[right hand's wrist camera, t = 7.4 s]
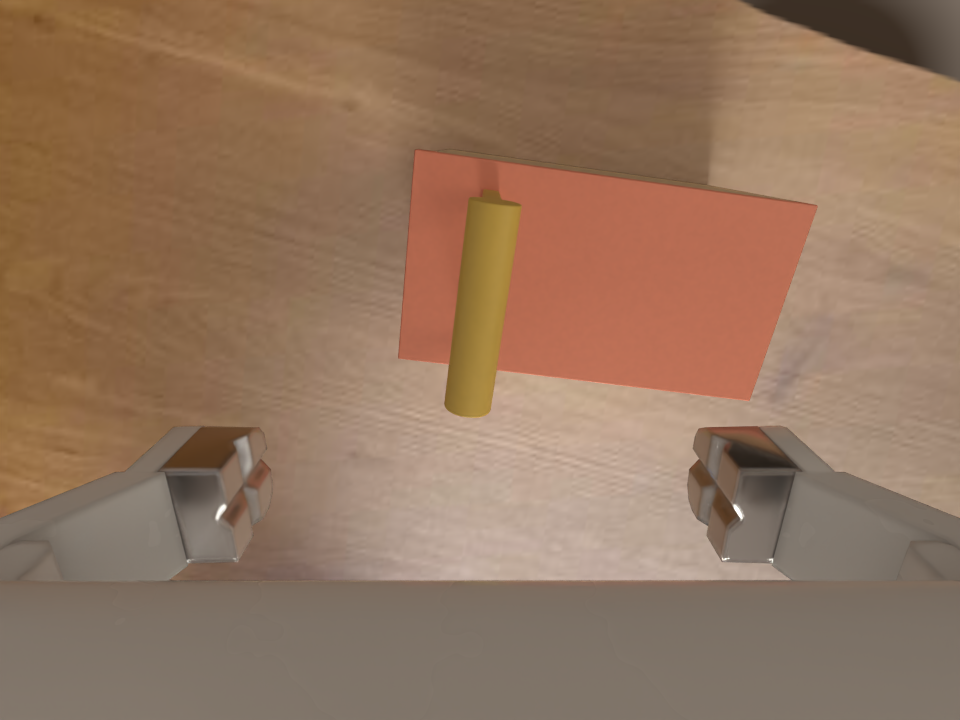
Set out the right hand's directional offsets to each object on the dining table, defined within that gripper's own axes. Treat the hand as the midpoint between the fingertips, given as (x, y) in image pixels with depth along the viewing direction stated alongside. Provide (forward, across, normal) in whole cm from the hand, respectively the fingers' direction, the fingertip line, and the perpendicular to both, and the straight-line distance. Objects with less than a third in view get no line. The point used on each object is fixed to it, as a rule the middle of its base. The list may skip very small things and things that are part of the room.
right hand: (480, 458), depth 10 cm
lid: (+17, -5, +1) cm, 18 cm away
